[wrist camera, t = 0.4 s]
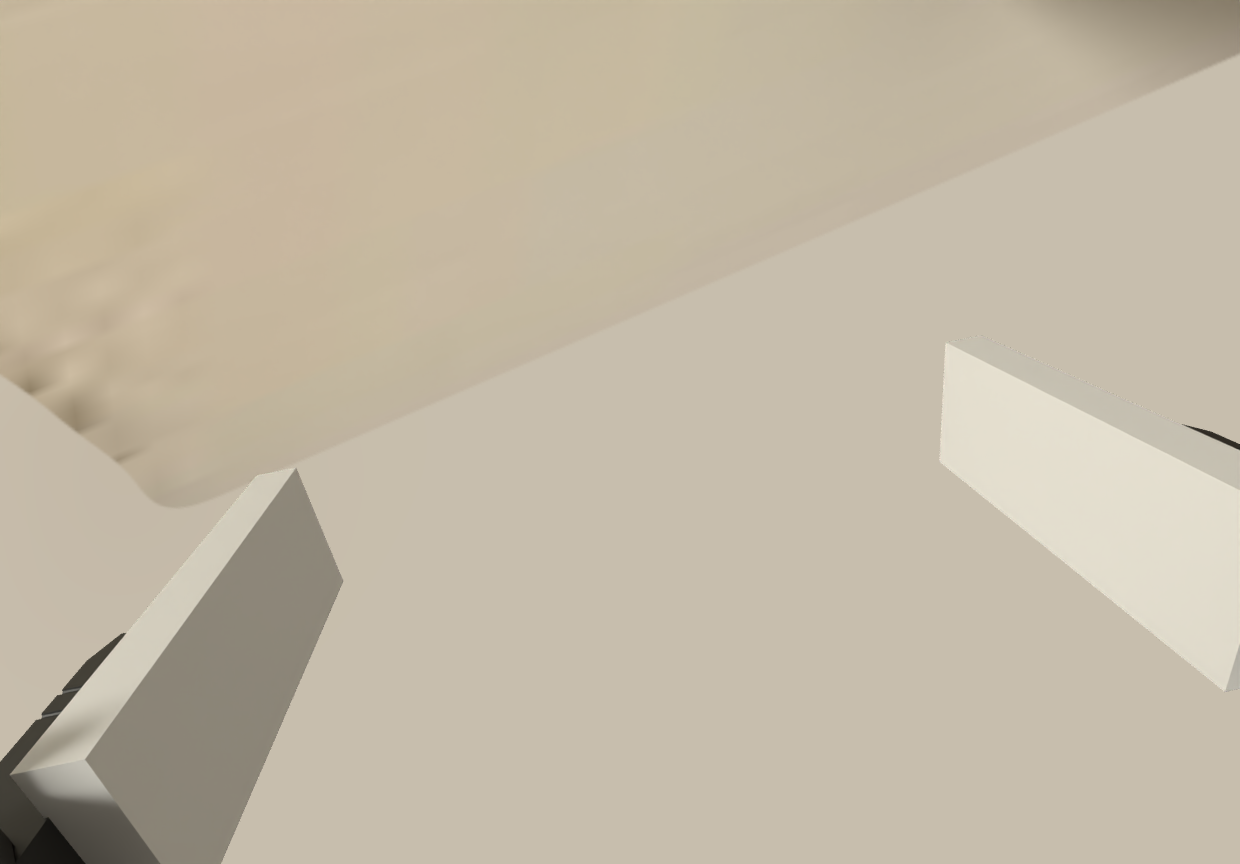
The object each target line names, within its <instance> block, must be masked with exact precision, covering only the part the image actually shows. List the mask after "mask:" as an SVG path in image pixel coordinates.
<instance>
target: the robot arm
mask: <svg viewBox="0 0 1240 864" xmlns="http://www.w3.org/2000/svg"><path fill="white" fill-rule="evenodd" d="M943 385H944V386H943V404H942V424H941V443H940V463H942V464H943V465H944V466H945V467H947V468H948V469H949V470H950V471H952V472H953V473H954V474H955V475H957V476H958V477H959V478H960V479H962V480H963V481H964V482H965V483H967V484H968V485H969V486H970V487H971V488H973V489H974V490H975V491H976V492H978V493H979V494H980V495H981V496H983V497H984V498H985V499H986V500H988V501H989V502H990V503H992V504H993V505H994V506H995V507H996V508H997V509H999V510H1000V511H1001V512H1002V513H1004V514H1005V515H1006V516H1007V517H1009V518H1010V519H1011V520H1012V521H1014V522H1015V523H1016V524H1017V525H1019V526H1020V527H1021V528H1022V529H1024V530H1025V531H1026V532H1027V533H1028V534H1030V535H1031V536H1032V537H1033V538H1035V539H1036V540H1037V541H1038V542H1040V543H1041V544H1042V545H1043V546H1045V547H1046V548H1047V549H1048V550H1050V551H1051V552H1052V553H1053V554H1054V555H1056V556H1057V557H1058V558H1059V559H1061V560H1062V561H1063V562H1064V563H1066V564H1067V565H1068V566H1069V567H1071V568H1072V569H1073V570H1074V571H1076V572H1077V573H1078V574H1079V575H1081V576H1082V577H1083V578H1084V579H1085V580H1087V581H1088V582H1089V583H1090V584H1092V585H1093V586H1094V587H1095V588H1097V589H1098V590H1099V591H1100V592H1102V593H1103V594H1104V595H1105V596H1106V597H1108V598H1109V599H1110V600H1111V601H1113V602H1114V603H1115V604H1116V605H1118V606H1119V607H1120V608H1121V609H1123V610H1124V611H1125V612H1126V613H1128V614H1129V615H1130V616H1131V617H1133V618H1134V619H1135V620H1136V621H1137V622H1139V623H1140V624H1141V625H1142V626H1144V627H1145V628H1146V629H1147V630H1149V631H1150V632H1151V633H1152V634H1154V635H1155V636H1156V637H1157V638H1159V639H1160V640H1161V641H1162V642H1163V643H1165V644H1166V645H1167V646H1169V647H1170V648H1171V649H1172V650H1173V651H1175V652H1176V653H1177V654H1178V655H1180V656H1181V657H1182V658H1183V659H1185V660H1186V661H1187V662H1189V663H1190V664H1191V665H1192V666H1193V667H1195V668H1196V669H1197V670H1199V671H1200V672H1201V673H1202V674H1203V675H1205V676H1206V677H1207V678H1208V679H1209V680H1211V681H1212V682H1213V683H1214V684H1216V685H1217V686H1218V687H1219V688H1221V689H1222V690H1223V691H1224V692H1227V691H1231V690H1237V689H1240V444H1238V443H1236V442H1233V441H1231V440H1229V439H1226V438H1224V437H1222V436H1220V435H1217V434H1215V433H1213V432H1210V431H1207V430H1203V429H1199V428H1194V427H1190V426H1187V425H1183V424H1180V423H1177V422H1175V421H1173V420H1171V419H1168V418H1166V417H1164V416H1162V415H1159V414H1157V413H1155V412H1152V411H1151V410H1148V409H1146V408H1144V407H1142V406H1139V405H1137V404H1135V403H1133V402H1130V401H1128V400H1126V399H1124V398H1121V397H1119V396H1117V395H1115V394H1112V393H1110V392H1108V391H1106V390H1103V389H1101V388H1099V387H1096V386H1094V385H1092V384H1090V383H1088V382H1085V381H1083V380H1081V379H1079V378H1076V377H1074V376H1072V375H1070V374H1067V373H1065V372H1063V371H1061V370H1059V369H1056V368H1054V367H1052V366H1050V365H1047V364H1045V363H1043V362H1041V361H1039V360H1036V359H1034V358H1032V357H1029V356H1027V355H1025V354H1023V353H1021V352H1018V351H1016V350H1014V349H1012V348H1009V347H1007V346H1005V345H1002V344H1000V343H998V342H996V341H993V340H991V339H989V338H987V337H985V336H982V335H981V336H976V337H971V338H966V339H960V340H955V341H950V342H946V346H945V365H944V384H943ZM342 583H343V579H342V577H341V574H340V572H339V570H338V567H337V565H336V562H335V560H334V558H333V555H332V553H331V550H330V548H329V546H328V543H327V541H326V538H325V536H324V534H323V531H322V529H321V526H320V524H319V521H318V519H317V517H316V514H315V512H314V510H313V507H312V505H311V502H310V500H309V498H308V495H307V493H306V490H305V488H304V485H303V483H302V481H301V478H300V476H299V473H298V471H297V469H296V468H292V469H287V470H282V471H277V472H271V473H266V474H261V475H257V476H256V477H255V478H254V479H253V480H252V482H251V483H250V484H249V485H248V486H247V488H246V489H245V490H244V491H243V493H242V494H241V495H240V496H239V497H238V499H237V500H236V501H235V502H234V503H233V505H232V506H231V507H230V508H229V510H228V511H227V512H226V513H225V514H224V516H223V517H222V518H221V519H220V521H219V522H218V523H217V524H216V525H215V527H214V528H213V529H212V530H211V531H210V533H209V534H208V535H207V536H206V537H205V539H204V540H203V541H202V542H201V543H200V545H199V546H198V547H197V549H196V550H195V551H194V552H193V553H192V554H191V556H190V557H189V558H188V559H187V561H186V562H185V563H184V564H183V565H182V566H181V568H180V569H179V570H178V572H177V573H176V574H175V575H174V576H173V577H172V579H171V580H170V581H169V582H168V583H167V585H166V586H165V587H164V588H163V590H162V591H161V592H160V593H159V595H158V596H157V597H156V598H155V600H153V602H152V603H151V604H150V605H149V607H148V608H147V609H146V610H145V611H144V613H143V614H142V615H141V616H140V617H139V619H138V620H137V621H136V622H135V623H134V625H133V626H132V627H131V628H130V630H129V631H128V632H127V633H123V634H120V635H119V636H118V637H117V638H115V639H114V640H113V641H112V642H110V643H109V644H108V645H106V646H105V647H104V648H103V649H101V650H100V651H99V652H98V653H96V654H95V655H94V656H92V657H91V658H90V659H89V660H87V661H86V662H85V664H84V665H83V666H82V667H81V669H79V671H78V672H77V673H76V674H75V675H74V676H73V678H72V679H71V680H70V681H69V682H68V683H67V685H66V686H65V687H64V688H63V690H62V691H63V694H62V695H57V696H56V697H55V699H54V700H53V701H52V702H51V703H50V705H49V706H48V707H47V708H46V709H45V710H44V711H43V713H42V719H39V720H36V721H35V722H34V723H33V724H32V725H31V727H30V728H29V729H28V730H27V731H26V732H25V734H24V735H23V736H22V737H21V738H20V739H19V741H18V742H17V743H16V744H15V745H14V747H13V748H12V749H11V750H10V751H9V753H7V755H6V756H5V757H4V758H3V759H2V761H1V762H0V864H221V862H222V860H223V857H224V855H225V853H226V850H227V848H228V846H229V844H230V841H231V839H232V837H233V835H234V832H235V830H236V828H237V825H238V823H239V821H240V818H241V816H242V814H243V811H244V809H245V807H246V805H247V802H248V800H249V798H250V795H251V793H252V791H253V788H254V786H255V784H256V781H257V779H258V777H259V774H260V772H261V770H262V768H263V765H264V763H265V761H266V758H267V756H268V754H269V751H270V749H271V747H272V745H273V742H274V740H275V738H276V735H277V733H278V731H279V728H280V726H281V724H282V722H283V719H284V716H285V714H286V712H287V710H288V708H289V705H290V703H291V700H292V698H293V696H294V694H295V692H296V689H297V687H298V685H299V682H300V680H301V678H302V675H303V673H304V671H305V668H306V666H307V664H308V661H309V659H310V657H311V654H312V652H313V650H314V647H315V645H316V643H317V641H318V638H319V636H320V634H321V631H322V629H323V627H324V624H325V622H326V620H327V618H328V615H329V613H330V611H331V608H332V606H333V604H334V601H335V599H336V597H337V595H338V592H339V590H340V587H341V585H342Z"/></svg>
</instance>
